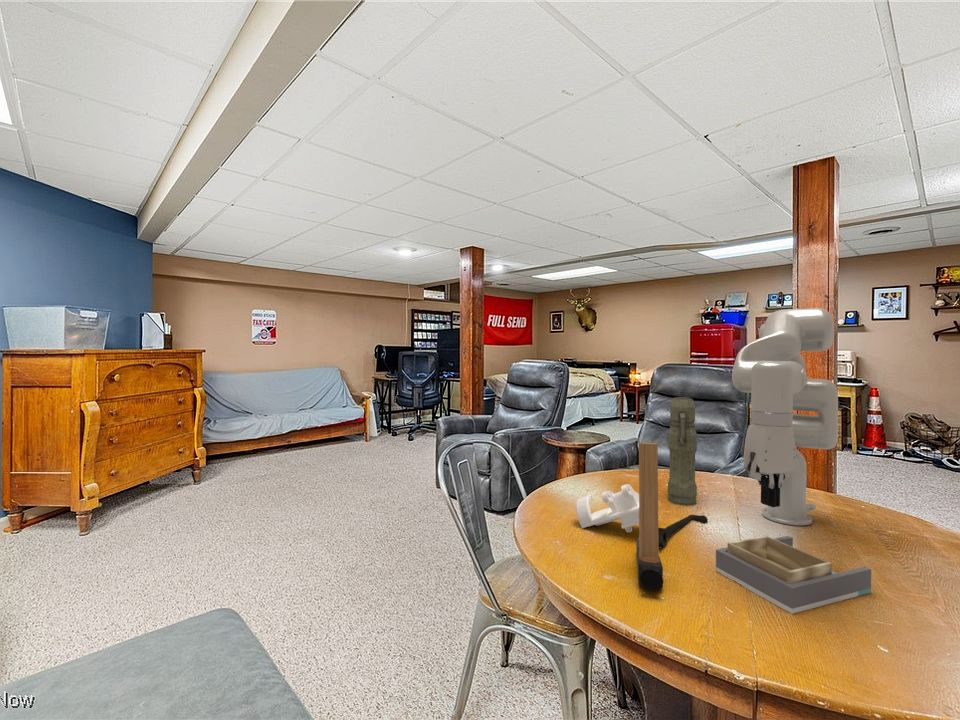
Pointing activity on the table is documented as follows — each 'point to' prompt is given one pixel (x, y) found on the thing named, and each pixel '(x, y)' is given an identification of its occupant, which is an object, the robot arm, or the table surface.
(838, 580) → the bay
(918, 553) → the table surface
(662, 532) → the wrench
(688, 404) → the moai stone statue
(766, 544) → the crate
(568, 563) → the table surface
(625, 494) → the white plastic bracket
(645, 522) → the hammer
